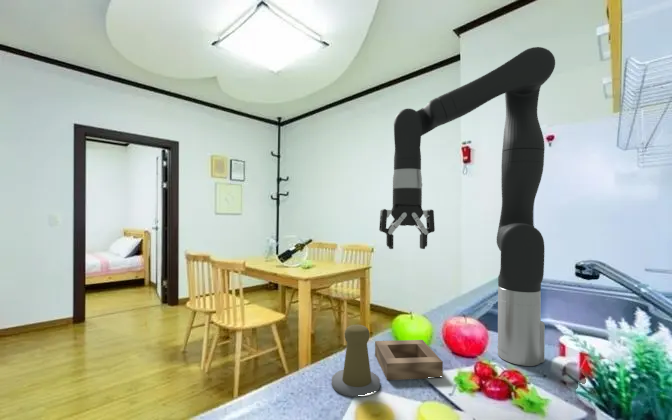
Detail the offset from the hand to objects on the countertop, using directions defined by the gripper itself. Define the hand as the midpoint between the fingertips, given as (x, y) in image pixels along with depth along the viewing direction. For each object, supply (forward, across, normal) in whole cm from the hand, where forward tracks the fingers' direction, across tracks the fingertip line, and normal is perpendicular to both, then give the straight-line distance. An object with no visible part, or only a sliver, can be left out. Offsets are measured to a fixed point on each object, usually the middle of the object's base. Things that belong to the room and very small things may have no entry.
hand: (406, 248), depth 87 cm
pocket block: (+26, +3, +10) cm, 28 cm away
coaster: (+26, +16, +17) cm, 35 cm away
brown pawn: (+26, +16, +17) cm, 34 cm away
